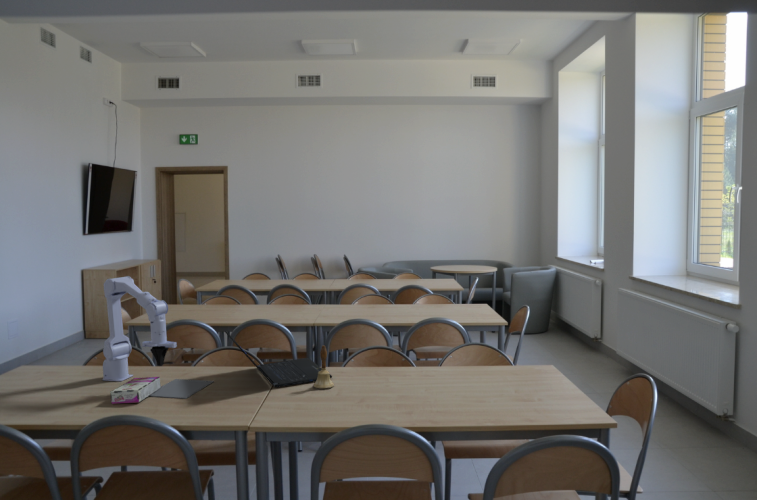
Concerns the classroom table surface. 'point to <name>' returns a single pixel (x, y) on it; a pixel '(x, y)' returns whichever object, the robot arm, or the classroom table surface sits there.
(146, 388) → the candy bar box
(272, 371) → the laptop
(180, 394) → the mat
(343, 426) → the classroom table surface
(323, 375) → the hand bell
